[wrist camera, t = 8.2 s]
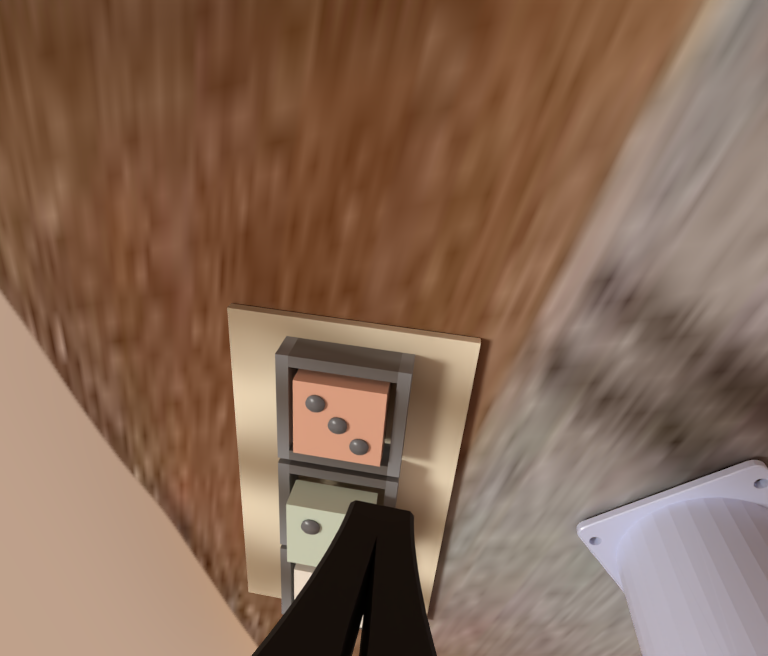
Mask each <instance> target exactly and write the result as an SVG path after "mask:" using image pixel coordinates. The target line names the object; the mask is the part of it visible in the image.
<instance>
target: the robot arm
mask: <svg viewBox="0 0 768 656" xmlns="http://www.w3.org/2000/svg"><path fill="white" fill-rule="evenodd" d="M758 479H761V480H760V481H756V480H758ZM577 532H578V535H579V537H580V539H581V540H582V541H583V542H584V544H585V545H586V546H587V547H588V549H589V550H590V551H591V552H592V554H593V555H594V556H595V557H596V559H597V560H598V561H599V562H600V563H601V565H602V566H603V567H604V568H605V570H606V571H607V572H608V573H609V575H610V576H611V577H612V578H613V580H614V581H615V582H616V583H617V585H618V586H619V587H620V588H621V590H622V591H623V592H624V593H625V596H626V600H627V603H628V607H629V610H630V614H631V617H632V621H633V624H634V628H635V631H636V635H637V639H638V642H639V646H640V649H641V653H642V656H768V467H767V466H766V465H765V464H764V463H763V462H762V461H759V460H749V461H745V462H743V463H740V464H737V465H734V466H732V467H729V468H726V469H724V470H721V471H718V472H715V473H713V474H710V475H707V476H704V477H702V478H699V479H696V480H693V481H691V482H688V483H685V484H683V485H680V486H677V487H674V488H672V489H669V490H666V491H663V492H661V493H658V494H655V495H652V496H650V497H647V498H644V499H642V500H639V501H636V502H633V503H631V504H628V505H625V506H622V507H620V508H617V509H614V510H611V511H609V512H606V513H603V514H601V515H598V516H595V517H592V518H590V519H587V520H584V521H582V522H580V523H579V524H578V525H577ZM592 537H596V538H592ZM362 617H363V623H362V633H361V643H360V653H359V656H437V654H436V651H435V647H434V643H433V639H432V635H431V631H430V627H429V622H428V618H427V613H426V609H425V604H424V599H423V594H422V589H421V583H420V578H419V572H418V564H417V557H416V548H415V537H414V515H413V514H412V513H411V511H407V510H402V509H397V508H393V507H388V506H383V505H378V504H373V503H368V502H363V501H358V500H355V501H353V502H351V503H350V505H349V507H348V510H347V512H346V515H345V517H344V519H343V521H342V523H341V525H340V527H339V529H338V531H337V533H336V535H335V537H334V539H333V540H332V542H331V544H330V546H329V547H328V549H327V551H326V553H325V554H324V556H323V557H322V559H321V561H320V562H319V564H318V565H317V567H316V568H315V570H314V572H313V573H312V575H311V576H310V578H309V579H308V581H307V582H306V584H305V585H304V587H303V588H302V590H301V591H300V593H299V594H298V595H297V597H296V598H295V600H294V601H293V602H292V604H291V605H290V606H289V608H288V609H287V611H286V612H285V613H284V615H283V616H282V618H281V619H280V620H279V622H278V623H277V624H276V626H275V627H274V628H273V629H272V631H271V632H270V633H269V635H268V636H267V637H266V638H265V640H264V641H263V642H262V643H261V645H260V646H259V647H258V648H257V649H256V651H255V652H254V653H253V654H252V656H352V653H353V650H354V646H355V643H356V639H357V635H358V632H359V628H360V624H361V621H362Z"/></svg>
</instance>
